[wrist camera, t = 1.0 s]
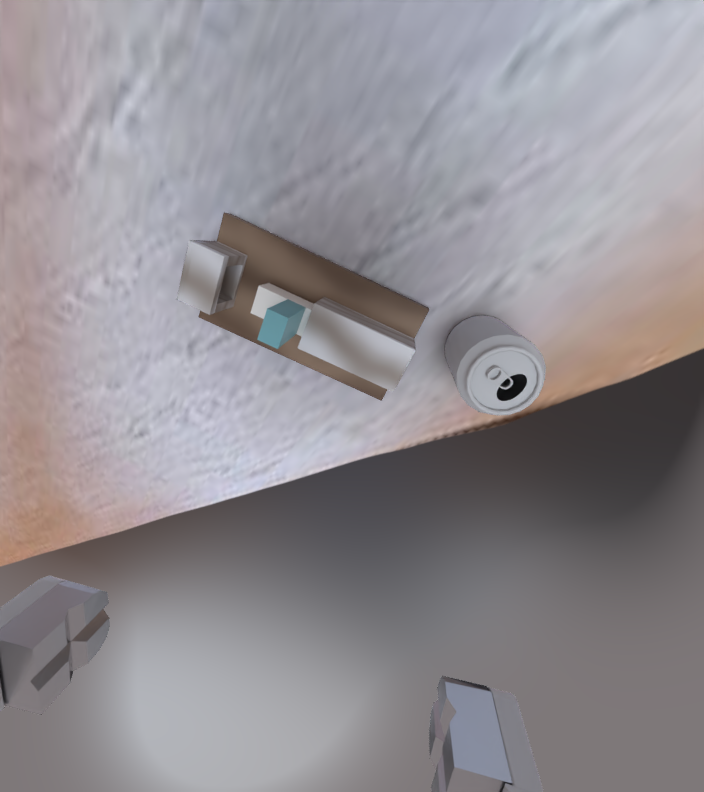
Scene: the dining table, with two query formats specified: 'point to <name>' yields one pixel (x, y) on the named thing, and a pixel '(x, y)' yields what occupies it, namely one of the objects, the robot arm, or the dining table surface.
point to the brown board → (315, 282)
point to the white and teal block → (280, 314)
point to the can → (494, 366)
